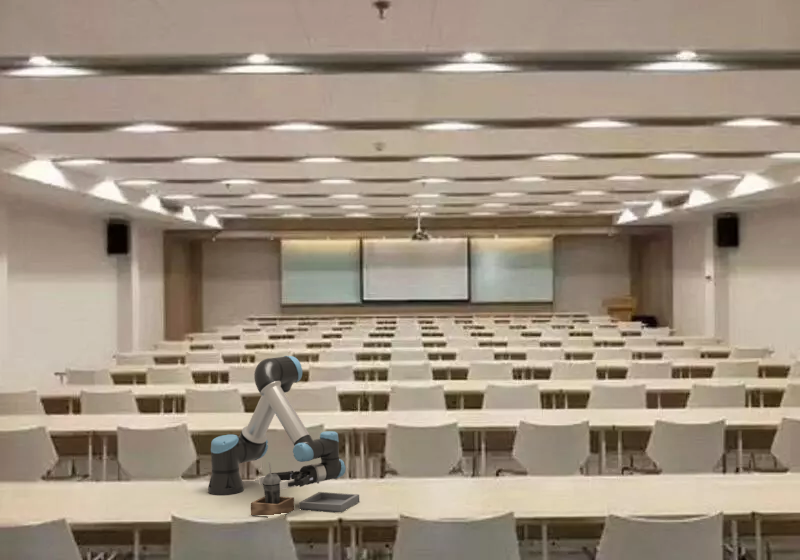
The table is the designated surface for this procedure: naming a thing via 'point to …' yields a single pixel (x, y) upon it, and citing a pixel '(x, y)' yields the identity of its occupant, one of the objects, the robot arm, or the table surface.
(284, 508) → the brown wooden box
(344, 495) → the tray
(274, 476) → the beverage cup
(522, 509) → the table surface
